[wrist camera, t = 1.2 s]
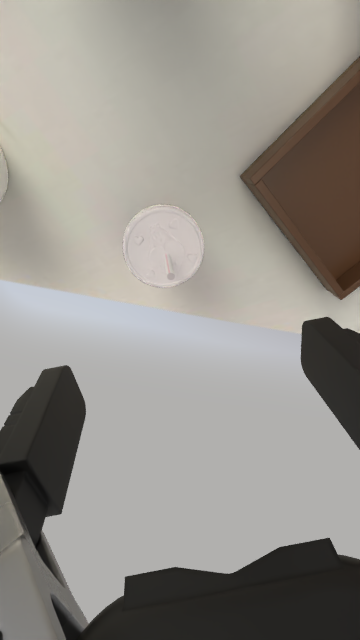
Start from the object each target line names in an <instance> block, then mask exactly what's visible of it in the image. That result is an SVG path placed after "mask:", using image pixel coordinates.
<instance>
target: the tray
mask: <svg viewBox="0 0 360 640" xmlns="http://www.w3.org/2000/svg"><path fill="white" fill-rule="evenodd" d="M240 177H241V179H242V180H243V181H244V183H245V184H246V185H247V186H248V188H249V189H250V190H251V192H252V193H253V194H254V196H255V197H256V198H257V200H258V201H259V202H260V203H261V205H262V206H263V207H264V209H265V210H266V211H267V213H268V214H269V215H270V216H271V218H272V219H273V220H274V222H275V223H276V224H277V226H278V227H279V228H280V230H281V231H282V232H283V233H284V235H285V236H286V237H287V239H288V240H289V241H290V243H291V244H292V245H293V246H294V248H295V249H296V250H297V252H298V253H299V254H300V256H301V257H302V258H303V260H304V261H305V262H306V263H307V265H308V266H309V267H310V269H311V270H312V271H313V273H314V274H315V275H316V276H317V278H318V279H319V280H320V282H321V283H322V284H323V286H324V287H325V288H326V289H327V290H328V291H329V292H331V293H332V294H333V295H335V296H336V297H337V298H339V299H340V300H342V299H343V298H345V297H346V296H347V295H349V294H350V293H351V292H353V291H354V290H355V289H357V288H358V287H359V286H360V57H359V58H358V59H357V60H356V61H355V62H354V63H353V64H352V65H351V66H350V67H349V68H348V69H347V70H346V71H345V72H344V73H343V74H342V75H341V76H340V77H339V78H338V79H337V80H336V81H335V82H334V83H333V84H332V85H331V86H330V87H329V88H328V89H327V90H326V91H325V92H324V93H323V94H322V95H321V96H320V97H319V98H318V99H317V100H316V101H315V102H314V103H313V104H312V105H311V106H310V107H309V108H308V109H307V110H306V111H305V112H304V113H303V114H302V115H301V116H300V117H299V118H298V119H297V120H296V121H295V122H294V123H293V124H292V125H291V126H290V127H289V128H288V129H287V130H286V131H285V132H284V133H283V134H282V135H281V136H280V137H279V138H278V139H277V140H276V141H275V142H274V143H273V144H272V145H271V146H270V147H269V148H268V149H267V150H266V151H265V152H264V153H263V154H262V155H261V156H260V157H259V158H258V159H257V160H256V161H255V162H254V163H253V164H252V165H251V166H250V167H249V168H248V169H247V170H246V171H245V172H244V173H243V174H242V175H241V176H240Z"/></svg>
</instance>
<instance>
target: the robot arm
mask: <svg viewBox="0 0 360 640" xmlns="http://www.w3.org/2000/svg"><path fill="white" fill-rule="evenodd" d="M301 364H302V368H303V371H304V373H305V375H306V377H307V378H308V379H309V381H310V382H311V384H312V385H313V386H314V387H315V389H316V390H317V392H318V393H319V395H320V396H321V397H322V398H323V400H324V401H325V403H326V404H327V406H328V407H329V408H330V410H331V411H332V412H333V414H334V415H335V416H336V418H337V419H338V421H339V422H340V423H341V425H342V426H343V428H344V429H345V430H346V432H347V433H348V434H349V436H350V437H351V439H352V440H353V441H354V443H355V444H356V445H357V447H358V448H359V449H360V334H359V333H357V332H355V331H352V330H350V329H348V328H346V329H342V328H341V327H340V326H339V325H338V324H337V323H335V322H334V321H333V320H332V319H331V318H329V317H324V318H319V319H314V320H308V321H305V322H304V323H303V325H302V343H301ZM10 414H11V415H9V416H8V418H7V420H6V422H5V423H4V425H5V426H4V427H2V429H1V431H0V640H360V560H359V559H356V558H352V557H348V556H344V555H338V554H337V552H336V550H335V548H334V546H333V544H332V542H331V540H330V538H326V539H320V540H315V541H310V542H305V543H299V544H294V545H289V546H284V547H279V548H277V549H276V550H274V551H272V552H270V553H268V554H267V555H265V556H263V557H261V558H260V559H258V560H256V561H254V562H252V563H251V564H249V565H247V566H245V567H243V568H242V569H240V570H238V571H236V572H234V573H231V574H223V573H215V572H208V571H201V570H192V569H184V568H178V567H174V568H168V569H163V570H158V571H153V572H147V573H142V574H138V575H133V576H127V577H125V589H124V596H122V597H120V598H118V599H117V600H116V601H114V602H113V603H112V604H110V605H109V606H107V607H106V608H105V609H104V610H103V611H102V612H101V613H99V615H97V616H96V617H95V618H94V619H93V620H92V621H91V622H90V623H88V622H87V620H86V618H85V616H84V614H83V612H82V611H81V609H80V607H79V606H78V604H77V602H76V601H75V599H74V597H73V595H72V593H71V591H70V589H69V587H68V585H67V582H66V580H65V578H64V576H63V574H62V572H61V570H60V567H59V565H58V563H57V561H56V559H55V556H54V554H53V552H52V550H51V548H50V545H49V543H48V541H47V539H46V537H45V535H44V533H43V532H42V527H43V523H44V520H45V517H48V516H53V515H59V514H61V513H62V509H63V505H64V501H65V497H66V493H67V488H68V485H69V480H70V477H71V473H72V469H73V465H74V461H75V456H76V452H77V448H78V444H79V440H80V436H81V432H82V428H83V424H84V420H85V415H86V408H85V401H84V398H83V396H82V394H81V391H80V389H79V387H78V384H77V382H76V380H75V377H74V375H73V373H72V371H71V368H70V367H69V366H67V365H66V366H60V367H55V368H50V369H45V370H43V371H42V373H41V375H40V377H39V379H38V381H37V383H36V385H35V387H30V388H29V389H28V390H27V391H26V392H25V393H24V394H23V395H22V396H21V397H20V398H19V399H18V400H17V402H16V403H15V405H14V407H13V409H12V411H11V412H10Z"/></svg>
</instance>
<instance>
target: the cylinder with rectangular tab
mask: <svg viewBox="0 0 360 640" xmlns="http://www.w3.org/2000/svg"><path fill="white" fill-rule="evenodd" d="M8 178H9V177H8V168H7V162H6V160H5V157H4V154H3V151H2V149H1V147H0V202H1V201H2V199H3V197H4V195H5V193H6V191H7V185H8Z"/></svg>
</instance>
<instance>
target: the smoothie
mask: <svg viewBox="0 0 360 640" xmlns="http://www.w3.org/2000/svg"><path fill="white" fill-rule="evenodd" d="M123 254H124V259H125V262H126V264H127V266H128V268H129V270H130V271H131V272H132V273H133V275H134V276H135V277H136V278H138V279H139V280H140V281H142V282H143V283H145V284H148V285H150V286H153V287H159V288H168V287H174V286H177V285H180V284H182V283H184V282H185V281H187V280H188V279H190V278H191V277H192V276H193V275H194V274H195V272H196V271H197V270H198V268H199V266H200V265H201V262H202V259H203V255H204V239H203V235H202V233H201V230H200V228H199V226H198V224H197V222H196V221H195V219H194V218H193V217H192V216H191V215H190V214H189V213H187V212H186V211H184V210H182V209H181V208H179V207H176V206H172V205H168V204H167V205H154V206H151V207H147V208H145V209H144V210H142V211H140V212H139V213H137V214H136V215H135V216H134V217H133V219H132V220H131V221H130V222H129V224H128V226H127V228H126V230H125V232H124V238H123Z"/></svg>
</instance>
